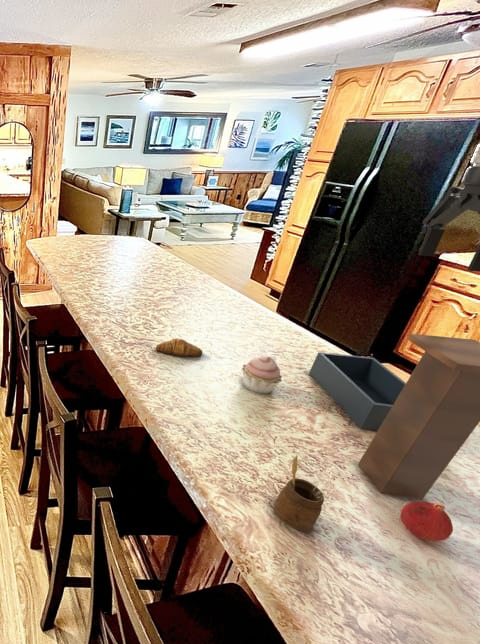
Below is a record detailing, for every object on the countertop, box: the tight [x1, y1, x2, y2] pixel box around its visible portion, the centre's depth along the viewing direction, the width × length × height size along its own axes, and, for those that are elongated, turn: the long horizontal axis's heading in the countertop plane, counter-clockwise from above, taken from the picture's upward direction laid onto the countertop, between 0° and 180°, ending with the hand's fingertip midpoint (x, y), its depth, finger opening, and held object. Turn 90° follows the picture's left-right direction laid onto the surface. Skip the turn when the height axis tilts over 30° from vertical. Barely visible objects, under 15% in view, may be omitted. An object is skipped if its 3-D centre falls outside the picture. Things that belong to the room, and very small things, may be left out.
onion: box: [400, 500, 454, 542], centre depth 65 cm, size 6×6×8 cm
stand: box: [357, 333, 480, 500], centre depth 71 cm, size 10×10×30 cm
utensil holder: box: [273, 454, 335, 532], centre depth 67 cm, size 6×6×12 cm
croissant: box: [155, 338, 203, 358], centre depth 117 cm, size 14×7×5 cm, turn 81°
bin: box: [308, 351, 407, 432], centre depth 97 cm, size 23×14×8 cm, turn 170°
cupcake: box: [241, 355, 283, 395], centre depth 101 cm, size 9×9×10 cm
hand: (448, 262), depth 90 cm, fingers open, 13 cm apart
